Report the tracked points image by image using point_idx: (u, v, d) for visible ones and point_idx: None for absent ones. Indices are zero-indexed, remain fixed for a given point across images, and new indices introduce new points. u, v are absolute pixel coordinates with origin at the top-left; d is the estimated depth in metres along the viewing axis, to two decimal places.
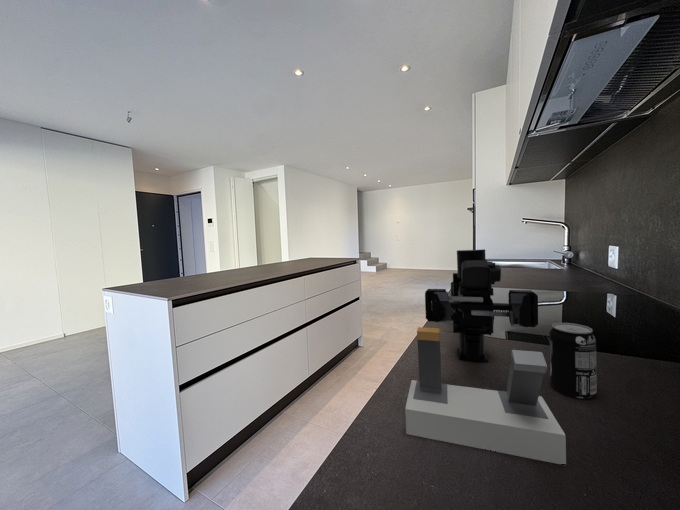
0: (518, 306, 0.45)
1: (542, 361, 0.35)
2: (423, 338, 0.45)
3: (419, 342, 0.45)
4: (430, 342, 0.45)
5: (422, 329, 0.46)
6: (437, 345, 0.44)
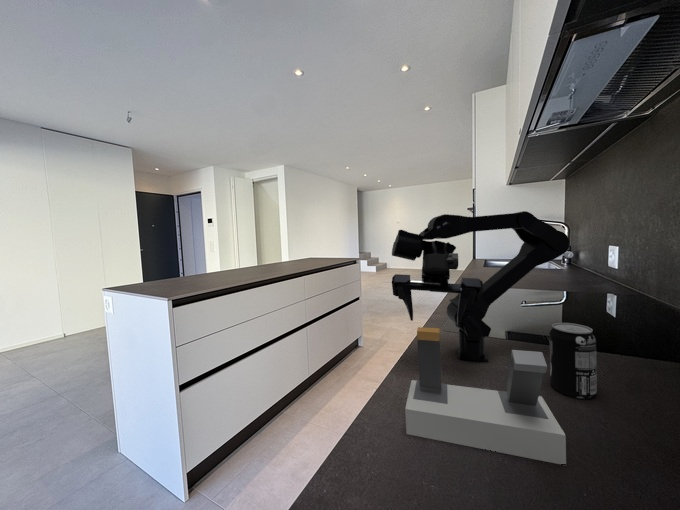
0: (464, 304, 0.56)
1: (542, 361, 0.35)
2: (423, 338, 0.45)
3: (419, 342, 0.45)
4: (430, 342, 0.45)
5: (422, 329, 0.46)
6: (437, 345, 0.44)
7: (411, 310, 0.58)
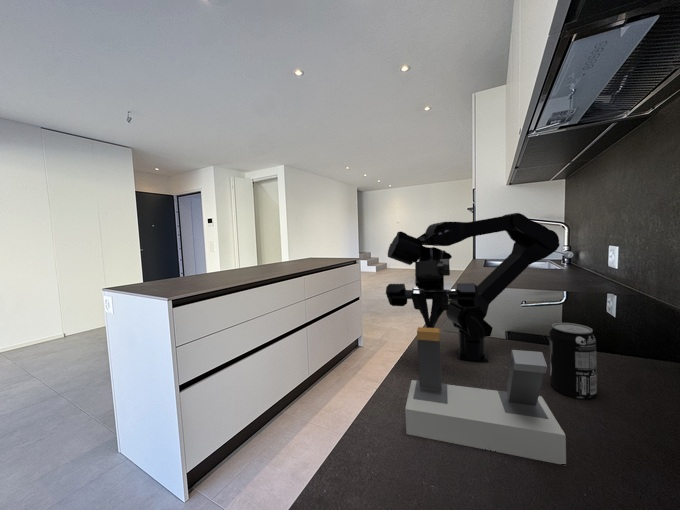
0: (436, 309, 0.56)
1: (542, 361, 0.35)
2: (423, 338, 0.45)
3: (419, 342, 0.45)
4: (430, 342, 0.45)
5: (422, 329, 0.46)
6: (437, 345, 0.44)
7: (427, 320, 0.55)
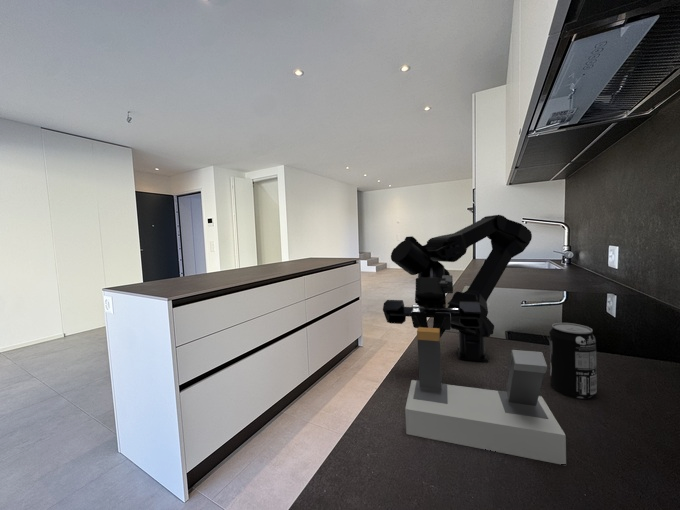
0: None
1: (542, 361, 0.35)
2: (423, 338, 0.45)
3: (419, 342, 0.45)
4: (430, 342, 0.45)
5: (422, 329, 0.46)
6: (437, 345, 0.44)
7: None
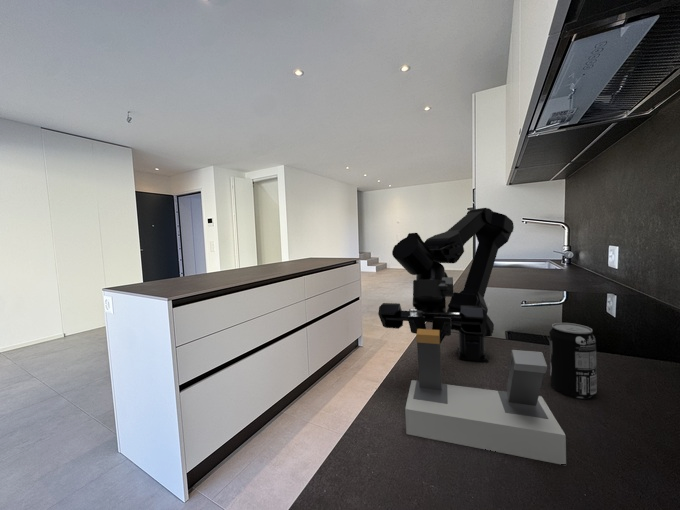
0: None
1: (542, 361, 0.35)
2: (423, 341, 0.44)
3: (419, 345, 0.45)
4: (430, 345, 0.44)
5: (421, 331, 0.45)
6: (437, 348, 0.44)
7: None
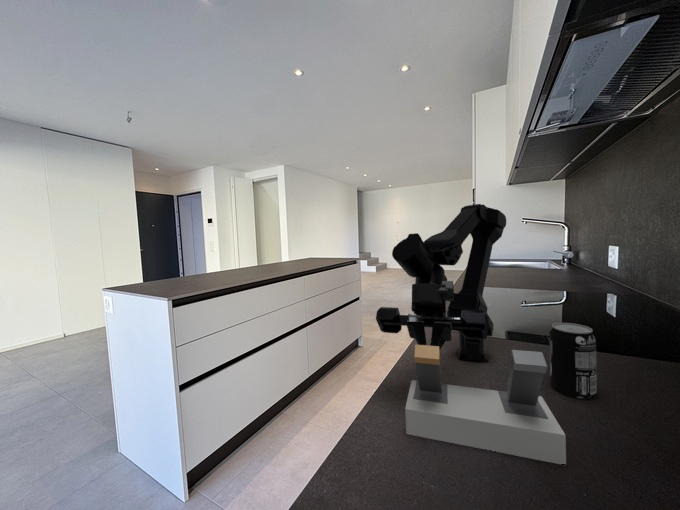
0: (436, 343, 0.46)
1: (542, 361, 0.35)
2: (421, 362, 0.41)
3: (417, 363, 0.42)
4: (429, 363, 0.41)
5: (419, 351, 0.41)
6: (437, 366, 0.41)
7: None
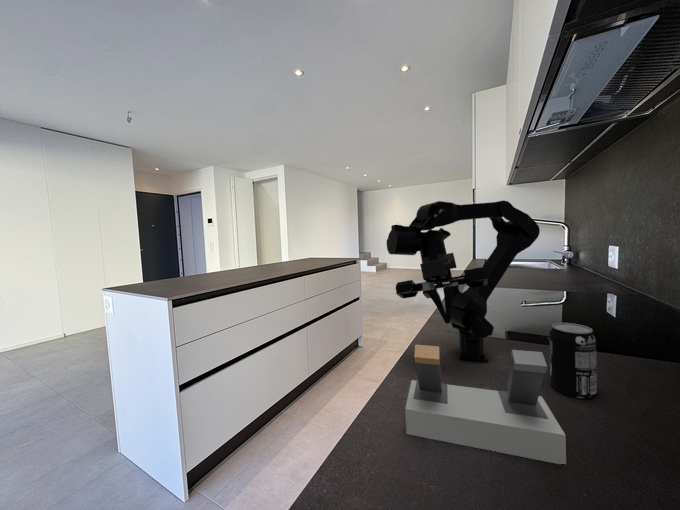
0: (449, 302, 0.57)
1: (542, 361, 0.35)
2: (421, 362, 0.41)
3: (417, 363, 0.42)
4: (429, 363, 0.41)
5: (419, 351, 0.41)
6: (437, 366, 0.41)
7: (444, 314, 0.57)
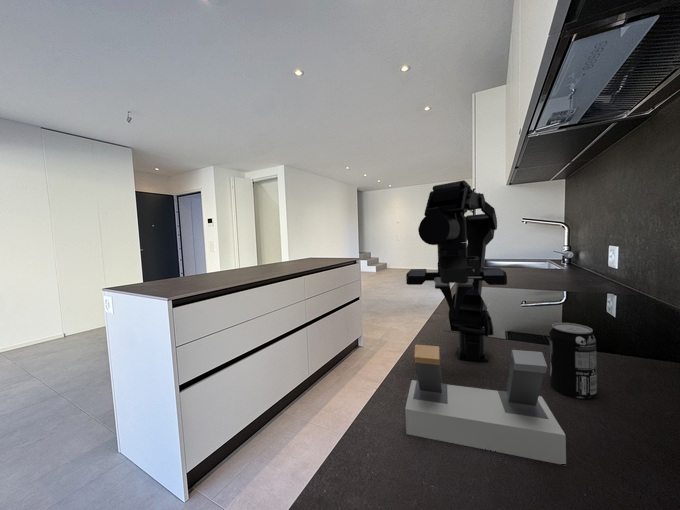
0: (461, 299, 0.56)
1: (542, 361, 0.35)
2: (421, 362, 0.41)
3: (417, 363, 0.42)
4: (429, 363, 0.41)
5: (419, 351, 0.41)
6: (437, 366, 0.41)
7: (452, 309, 0.57)
